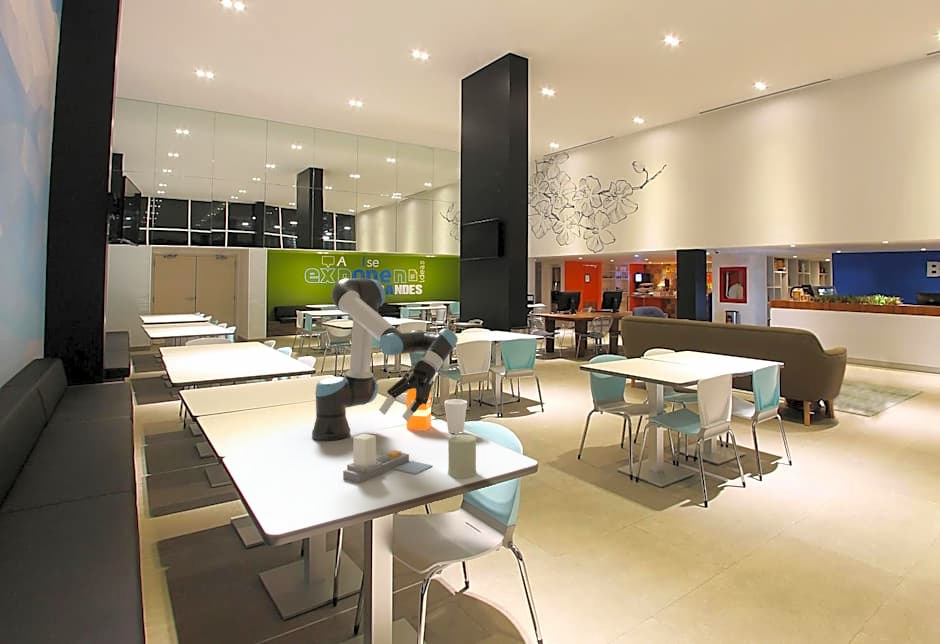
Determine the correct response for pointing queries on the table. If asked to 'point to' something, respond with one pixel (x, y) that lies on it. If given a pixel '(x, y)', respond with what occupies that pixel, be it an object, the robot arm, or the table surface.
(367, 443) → the white tall block
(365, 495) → the table surface
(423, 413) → the orange juice
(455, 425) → the foam cup
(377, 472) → the strip
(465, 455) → the can
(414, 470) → the mat
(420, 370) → the robot arm
